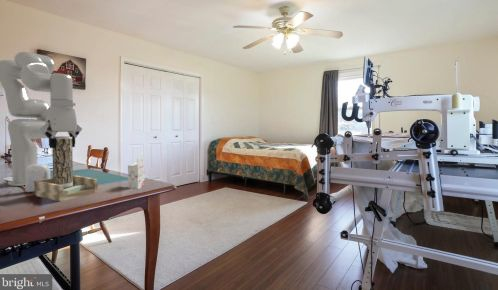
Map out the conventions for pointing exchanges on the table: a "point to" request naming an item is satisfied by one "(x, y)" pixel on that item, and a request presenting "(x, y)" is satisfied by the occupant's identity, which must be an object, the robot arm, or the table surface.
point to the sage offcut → (73, 189)
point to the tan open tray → (56, 191)
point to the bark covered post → (63, 162)
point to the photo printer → (35, 175)
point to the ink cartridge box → (136, 174)
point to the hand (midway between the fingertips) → (62, 147)
